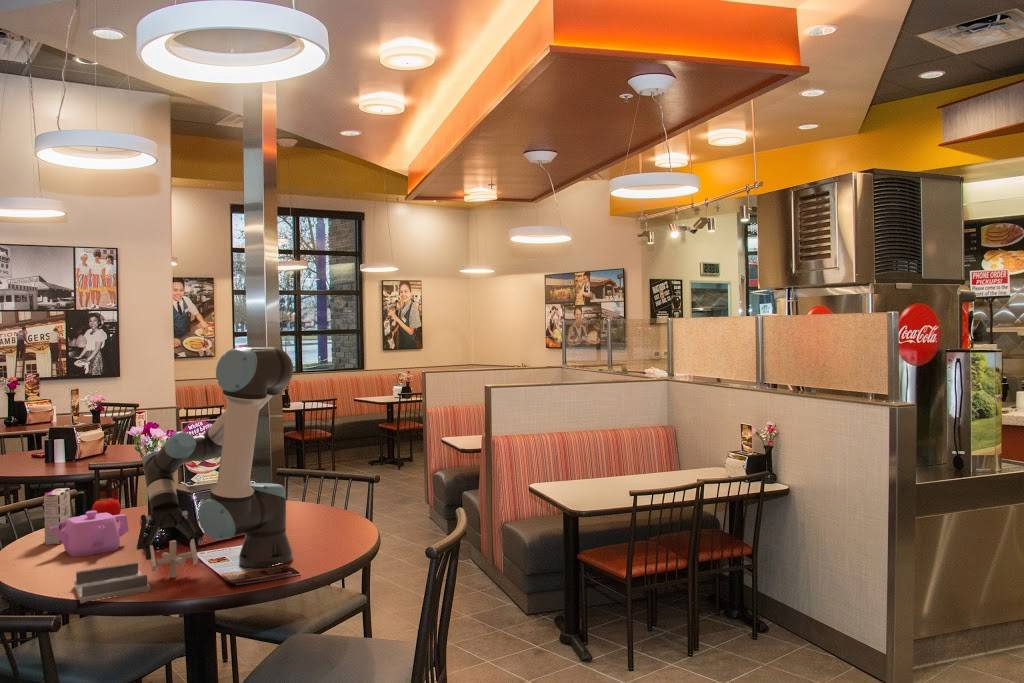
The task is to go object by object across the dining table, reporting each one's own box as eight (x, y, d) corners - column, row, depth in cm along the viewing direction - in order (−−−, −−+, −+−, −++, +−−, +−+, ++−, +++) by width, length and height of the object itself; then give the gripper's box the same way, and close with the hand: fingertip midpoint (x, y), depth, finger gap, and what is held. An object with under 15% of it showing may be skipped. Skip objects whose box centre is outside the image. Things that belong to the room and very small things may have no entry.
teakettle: (132, 543, 252) (131, 505, 252) (103, 558, 235) (102, 517, 235) (80, 543, 253) (80, 505, 253) (48, 558, 236) (47, 517, 236)
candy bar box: (55, 536, 261) (54, 488, 260) (71, 535, 262) (70, 487, 262) (43, 545, 250) (42, 495, 250) (60, 544, 251) (59, 494, 251)
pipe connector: (181, 569, 222) (181, 534, 222) (199, 575, 216) (198, 540, 216) (147, 577, 215) (146, 542, 215) (164, 584, 208) (163, 548, 208)
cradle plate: (139, 575, 217) (139, 561, 217) (149, 591, 204) (149, 575, 204) (74, 586, 208) (73, 572, 208) (80, 603, 195) (80, 587, 195)
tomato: (126, 517, 287) (125, 495, 287) (108, 524, 277) (108, 501, 277) (102, 517, 288) (102, 495, 288) (84, 524, 278) (84, 501, 278)
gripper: (201, 501, 234) (215, 565, 222) (119, 511, 221) (128, 580, 209) (205, 486, 230) (220, 550, 217) (121, 496, 217) (131, 565, 204)
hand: (175, 565), depth 213 cm, fingers closed on pipe connector, 10 cm apart
